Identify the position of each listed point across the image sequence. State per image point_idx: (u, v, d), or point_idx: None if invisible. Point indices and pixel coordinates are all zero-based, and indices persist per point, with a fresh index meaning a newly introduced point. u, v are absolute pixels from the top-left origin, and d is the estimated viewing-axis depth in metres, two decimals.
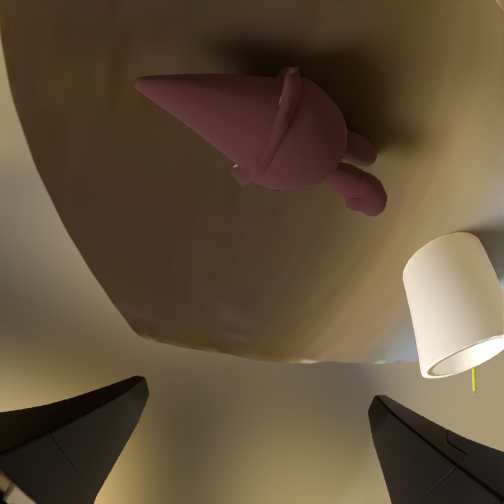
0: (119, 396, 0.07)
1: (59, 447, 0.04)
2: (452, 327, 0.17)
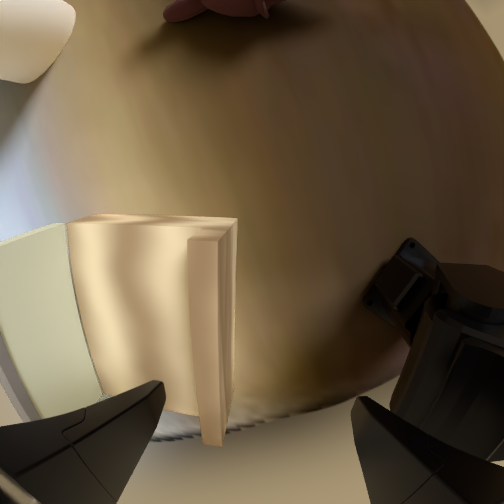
0: (139, 402, 0.07)
1: (81, 458, 0.04)
2: (17, 1, 0.07)
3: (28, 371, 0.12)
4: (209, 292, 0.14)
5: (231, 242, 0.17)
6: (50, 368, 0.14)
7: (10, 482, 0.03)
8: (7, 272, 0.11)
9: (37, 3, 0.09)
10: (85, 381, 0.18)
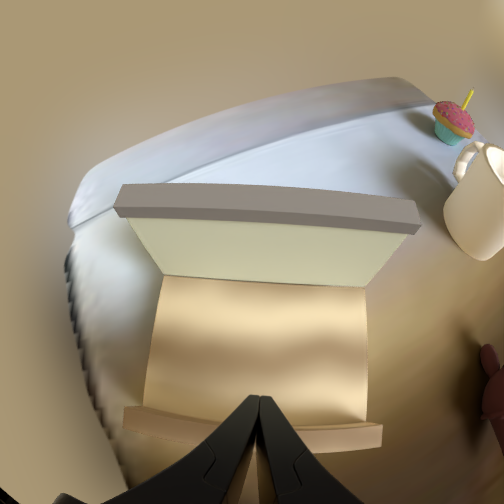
0: (255, 422, 0.07)
1: (227, 501, 0.04)
2: None
3: (265, 231, 0.15)
4: (342, 445, 0.13)
5: None
6: (244, 248, 0.17)
7: None
8: (374, 246, 0.15)
9: None
10: (195, 267, 0.20)
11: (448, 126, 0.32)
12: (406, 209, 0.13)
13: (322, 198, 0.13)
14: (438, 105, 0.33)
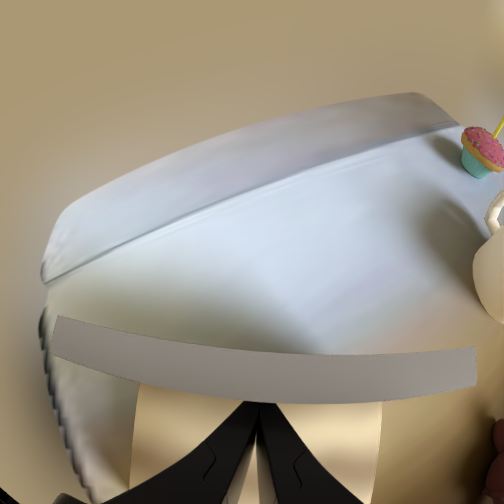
0: (255, 422, 0.07)
1: (226, 501, 0.04)
2: None
3: None
4: None
5: None
6: None
7: None
8: None
9: None
10: None
11: (479, 159, 0.27)
12: (463, 365, 0.07)
13: (352, 372, 0.08)
14: (468, 132, 0.28)
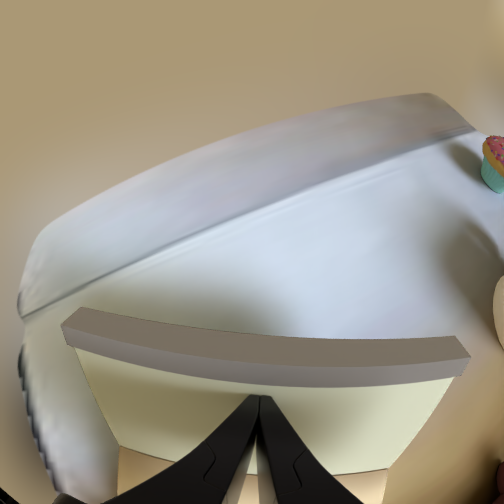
0: (255, 422, 0.07)
1: (226, 501, 0.04)
2: None
3: None
4: None
5: None
6: None
7: None
8: (409, 409, 0.09)
9: None
10: (159, 445, 0.11)
11: (503, 173, 0.22)
12: (449, 346, 0.09)
13: (344, 348, 0.09)
14: (491, 143, 0.23)
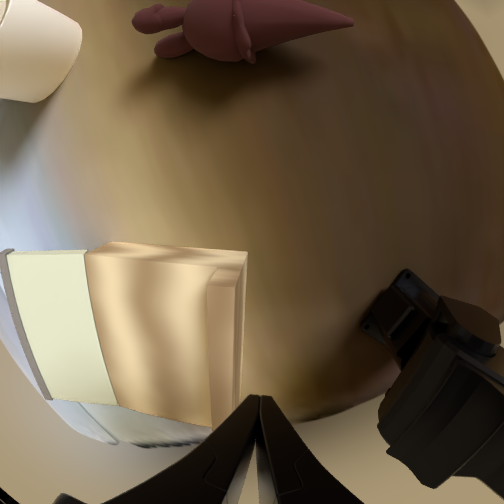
0: (255, 422, 0.07)
1: (227, 501, 0.04)
2: (21, 22, 0.09)
3: (35, 339, 0.19)
4: (226, 329, 0.15)
5: (243, 277, 0.19)
6: (56, 351, 0.20)
7: None
8: (25, 273, 0.17)
9: (42, 23, 0.11)
10: (95, 383, 0.21)
11: None
12: None
13: None
14: None
